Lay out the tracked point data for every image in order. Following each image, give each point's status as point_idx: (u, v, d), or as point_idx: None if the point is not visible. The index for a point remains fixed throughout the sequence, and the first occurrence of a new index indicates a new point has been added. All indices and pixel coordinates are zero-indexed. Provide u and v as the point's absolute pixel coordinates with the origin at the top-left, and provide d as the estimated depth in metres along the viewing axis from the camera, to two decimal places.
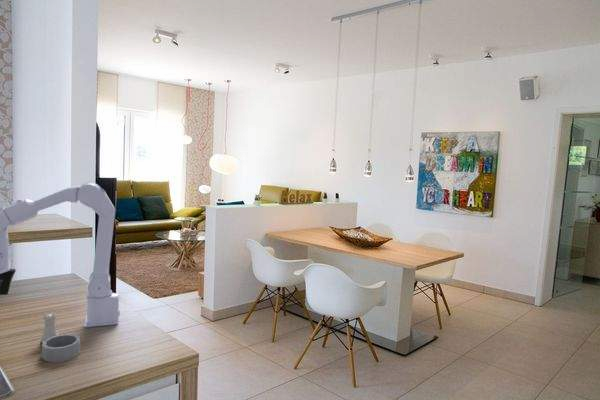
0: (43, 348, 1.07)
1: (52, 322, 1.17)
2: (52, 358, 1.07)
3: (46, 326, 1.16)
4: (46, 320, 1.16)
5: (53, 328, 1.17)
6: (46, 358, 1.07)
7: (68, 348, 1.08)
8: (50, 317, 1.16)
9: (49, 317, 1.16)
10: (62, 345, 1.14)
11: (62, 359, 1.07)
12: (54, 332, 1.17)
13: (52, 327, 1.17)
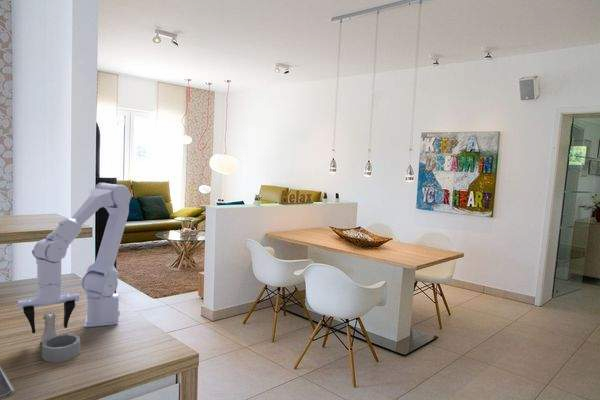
0: (43, 348, 1.07)
1: (52, 322, 1.17)
2: (52, 358, 1.07)
3: (46, 326, 1.16)
4: (46, 320, 1.16)
5: (53, 328, 1.17)
6: (46, 358, 1.07)
7: (68, 348, 1.08)
8: (50, 317, 1.16)
9: (49, 317, 1.16)
10: (62, 345, 1.14)
11: (62, 359, 1.07)
12: (54, 332, 1.17)
13: (52, 327, 1.17)
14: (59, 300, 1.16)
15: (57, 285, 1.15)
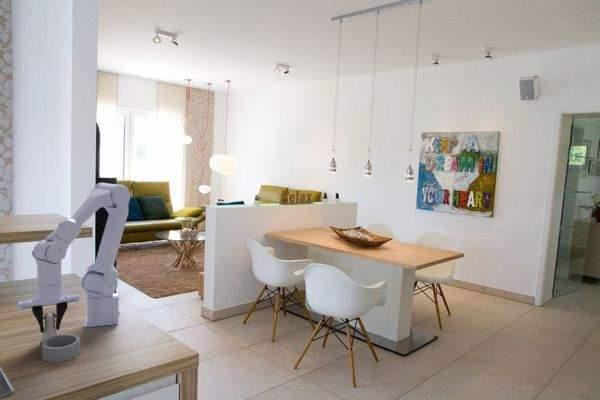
0: (43, 348, 1.07)
1: (52, 322, 1.17)
2: (52, 358, 1.07)
3: (46, 326, 1.16)
4: (46, 320, 1.16)
5: (53, 328, 1.17)
6: (46, 358, 1.07)
7: (68, 348, 1.08)
8: (50, 317, 1.16)
9: (49, 317, 1.16)
10: (62, 345, 1.14)
11: (62, 359, 1.07)
12: (54, 332, 1.17)
13: (52, 327, 1.17)
14: (59, 301, 1.16)
15: (57, 286, 1.15)
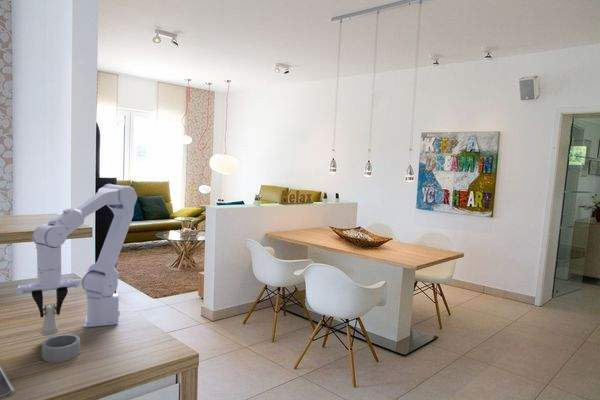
0: (43, 348, 1.07)
1: (52, 314, 1.16)
2: (52, 358, 1.07)
3: (46, 317, 1.16)
4: (46, 311, 1.16)
5: (53, 320, 1.17)
6: (46, 358, 1.07)
7: (68, 348, 1.08)
8: (50, 308, 1.16)
9: (49, 308, 1.16)
10: (62, 345, 1.14)
11: (62, 359, 1.07)
12: (53, 324, 1.17)
13: (52, 319, 1.16)
14: (59, 285, 1.15)
15: (57, 270, 1.15)
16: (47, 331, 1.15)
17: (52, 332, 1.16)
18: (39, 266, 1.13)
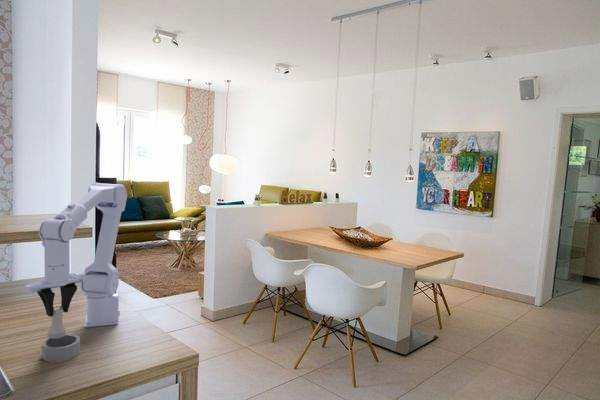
0: (43, 348, 1.07)
1: (60, 316, 1.12)
2: (52, 358, 1.07)
3: (54, 321, 1.11)
4: (54, 314, 1.11)
5: (61, 322, 1.12)
6: (46, 358, 1.07)
7: (68, 348, 1.08)
8: (59, 311, 1.11)
9: (58, 311, 1.11)
10: (62, 345, 1.14)
11: (62, 359, 1.07)
12: (62, 326, 1.13)
13: (60, 321, 1.12)
14: (70, 281, 1.11)
15: (68, 266, 1.11)
16: (57, 334, 1.11)
17: (62, 335, 1.12)
18: (50, 262, 1.08)
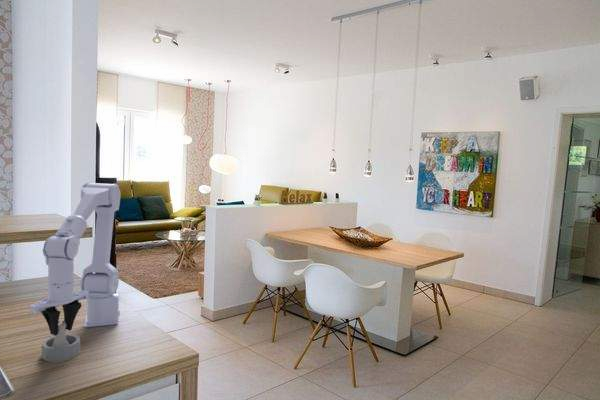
0: (43, 348, 1.07)
1: (64, 331, 1.10)
2: (52, 358, 1.07)
3: (58, 336, 1.09)
4: (58, 329, 1.09)
5: (65, 337, 1.11)
6: (46, 358, 1.07)
7: (68, 348, 1.08)
8: (62, 326, 1.10)
9: (62, 326, 1.09)
10: None
11: (62, 359, 1.07)
12: (66, 341, 1.11)
13: (64, 336, 1.11)
14: (74, 299, 1.10)
15: (72, 283, 1.09)
16: None
17: None
18: (55, 281, 1.06)
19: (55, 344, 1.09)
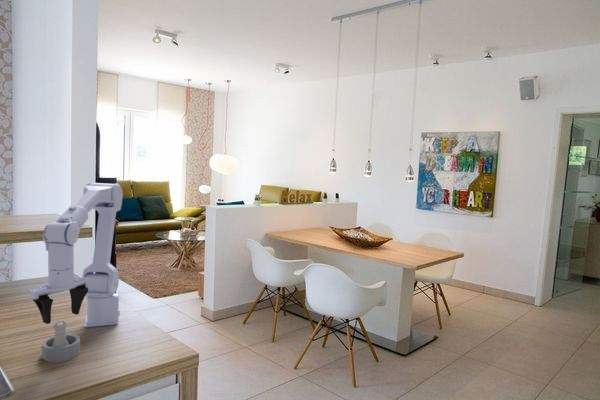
0: (43, 348, 1.07)
1: (64, 331, 1.10)
2: (52, 358, 1.07)
3: (58, 336, 1.09)
4: (58, 330, 1.09)
5: (65, 337, 1.11)
6: (46, 358, 1.07)
7: (68, 348, 1.08)
8: (62, 326, 1.10)
9: (62, 326, 1.09)
10: None
11: (62, 359, 1.07)
12: (66, 341, 1.11)
13: (64, 336, 1.11)
14: (74, 285, 1.10)
15: (72, 269, 1.09)
16: None
17: None
18: (55, 266, 1.06)
19: (55, 344, 1.09)
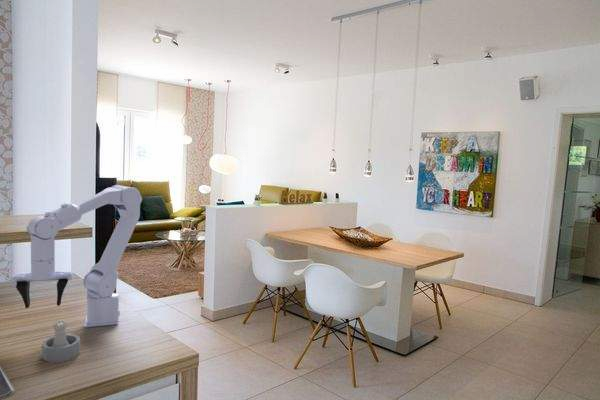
0: (43, 348, 1.07)
1: (64, 331, 1.10)
2: (52, 358, 1.07)
3: (58, 336, 1.09)
4: (58, 330, 1.09)
5: (65, 337, 1.11)
6: (46, 358, 1.07)
7: (68, 348, 1.08)
8: (62, 326, 1.10)
9: (62, 326, 1.09)
10: None
11: (62, 359, 1.07)
12: (66, 341, 1.11)
13: (64, 336, 1.11)
14: (50, 277, 1.16)
15: (48, 262, 1.16)
16: None
17: None
18: (31, 257, 1.15)
19: (55, 344, 1.09)
